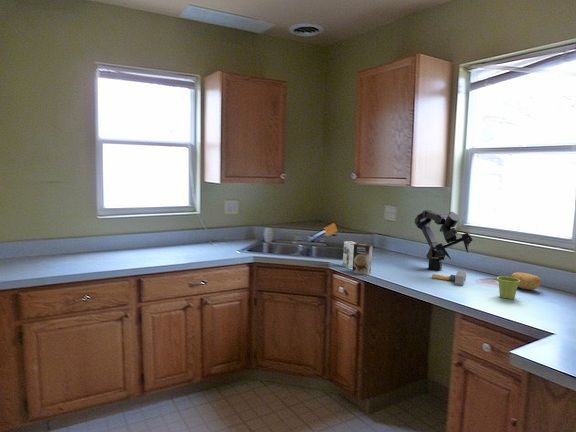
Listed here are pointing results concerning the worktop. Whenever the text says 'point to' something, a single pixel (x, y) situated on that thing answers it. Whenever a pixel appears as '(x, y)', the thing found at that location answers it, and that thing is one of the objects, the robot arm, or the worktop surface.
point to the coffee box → (362, 258)
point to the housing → (460, 277)
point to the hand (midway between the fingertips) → (459, 255)
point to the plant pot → (508, 287)
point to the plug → (444, 277)
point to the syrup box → (348, 253)
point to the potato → (527, 280)
